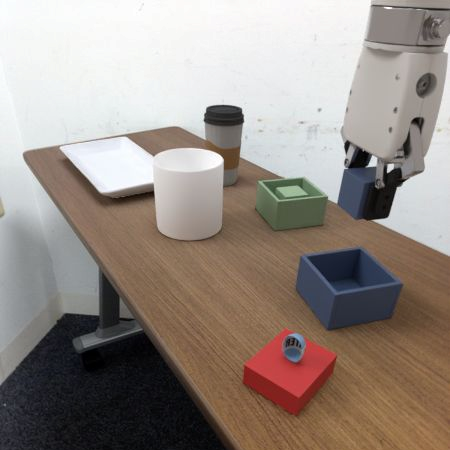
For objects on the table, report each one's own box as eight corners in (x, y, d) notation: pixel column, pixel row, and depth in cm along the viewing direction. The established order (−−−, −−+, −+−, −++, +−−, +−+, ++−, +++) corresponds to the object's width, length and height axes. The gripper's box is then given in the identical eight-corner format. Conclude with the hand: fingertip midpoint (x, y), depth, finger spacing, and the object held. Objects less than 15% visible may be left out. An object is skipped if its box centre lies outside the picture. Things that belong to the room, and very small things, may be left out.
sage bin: (300, 203, 86) (304, 176, 82) (323, 224, 78) (328, 196, 75) (255, 208, 83) (257, 180, 80) (274, 231, 76) (277, 201, 73)
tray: (102, 208, 81) (100, 191, 79) (60, 159, 103) (57, 144, 100) (182, 192, 89) (181, 176, 86) (127, 149, 110) (125, 135, 108)
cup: (228, 238, 73) (230, 169, 66) (160, 243, 71) (155, 173, 64) (215, 209, 82) (216, 146, 75) (154, 213, 80) (149, 149, 73)
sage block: (294, 207, 83) (297, 185, 80) (305, 217, 79) (308, 194, 77) (273, 209, 82) (275, 187, 79) (282, 220, 78) (285, 197, 76)
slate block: (368, 201, 54) (376, 165, 51) (389, 216, 50) (399, 179, 48) (336, 204, 53) (343, 168, 50) (355, 220, 49) (364, 182, 46)
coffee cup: (248, 183, 93) (253, 111, 85) (217, 191, 90) (218, 115, 81) (227, 172, 99) (229, 102, 90) (196, 178, 95) (195, 106, 86)
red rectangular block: (282, 345, 52) (289, 304, 48) (332, 372, 48) (343, 330, 45) (242, 382, 47) (246, 340, 43) (295, 416, 43) (304, 372, 40)
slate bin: (353, 278, 64) (361, 246, 61) (391, 317, 57) (403, 283, 54) (295, 288, 62) (300, 254, 58) (327, 330, 54) (335, 295, 51)
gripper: (508, 41, 35) (435, 238, 46) (387, 24, 48) (353, 181, 59) (432, 40, 33) (375, 246, 44) (328, 23, 46) (304, 185, 57)
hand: (363, 207), depth 51 cm, fingers closed on slate block, 4 cm apart
